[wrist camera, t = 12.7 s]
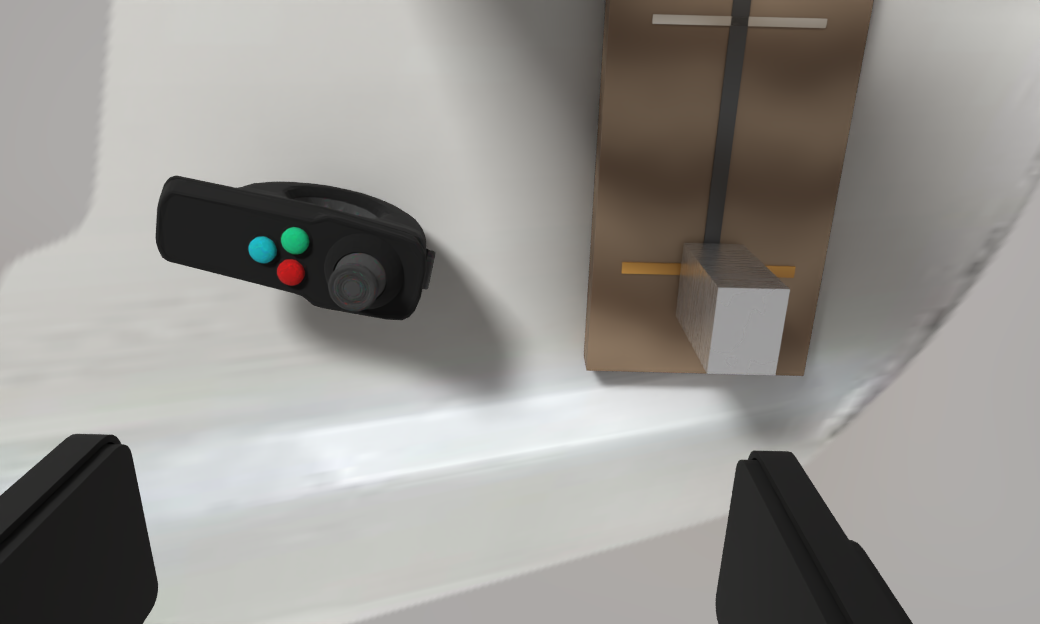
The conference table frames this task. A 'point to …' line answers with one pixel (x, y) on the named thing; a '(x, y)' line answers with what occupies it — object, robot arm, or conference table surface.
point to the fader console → (715, 161)
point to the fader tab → (731, 309)
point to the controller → (299, 242)
